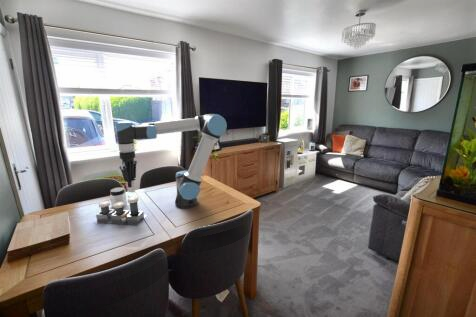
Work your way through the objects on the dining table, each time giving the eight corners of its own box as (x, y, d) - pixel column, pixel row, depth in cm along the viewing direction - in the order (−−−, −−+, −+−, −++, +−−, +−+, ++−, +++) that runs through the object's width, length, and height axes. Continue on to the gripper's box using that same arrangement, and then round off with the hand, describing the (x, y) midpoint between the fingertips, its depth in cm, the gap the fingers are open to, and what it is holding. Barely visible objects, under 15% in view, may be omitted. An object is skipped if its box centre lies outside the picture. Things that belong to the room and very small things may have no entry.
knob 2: (141, 211, 131) (140, 197, 128) (136, 216, 125) (134, 201, 123) (132, 211, 131) (131, 196, 129) (127, 215, 126) (125, 200, 123)
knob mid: (128, 216, 132) (126, 202, 130) (122, 221, 127) (120, 206, 125) (119, 216, 133) (117, 201, 131) (113, 220, 127) (111, 206, 125)
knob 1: (113, 215, 133) (111, 201, 131) (107, 220, 128) (105, 205, 125) (105, 215, 134) (102, 201, 131) (98, 219, 128) (96, 205, 126)
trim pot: (128, 221, 128) (127, 213, 126) (125, 224, 124) (124, 215, 123) (123, 220, 128) (122, 212, 127) (120, 223, 125) (119, 215, 123)
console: (147, 216, 135) (146, 209, 134) (136, 227, 123) (135, 219, 122) (107, 214, 137) (106, 207, 136) (93, 224, 126) (91, 216, 124)
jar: (112, 210, 142) (109, 193, 139) (111, 205, 149) (108, 189, 146) (127, 207, 147) (125, 190, 144) (126, 202, 153) (123, 186, 150)
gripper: (127, 148, 125) (131, 187, 131) (112, 153, 113) (118, 196, 119) (140, 148, 125) (143, 187, 131) (126, 153, 112) (131, 196, 118)
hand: (131, 191), depth 125 cm, fingers closed
